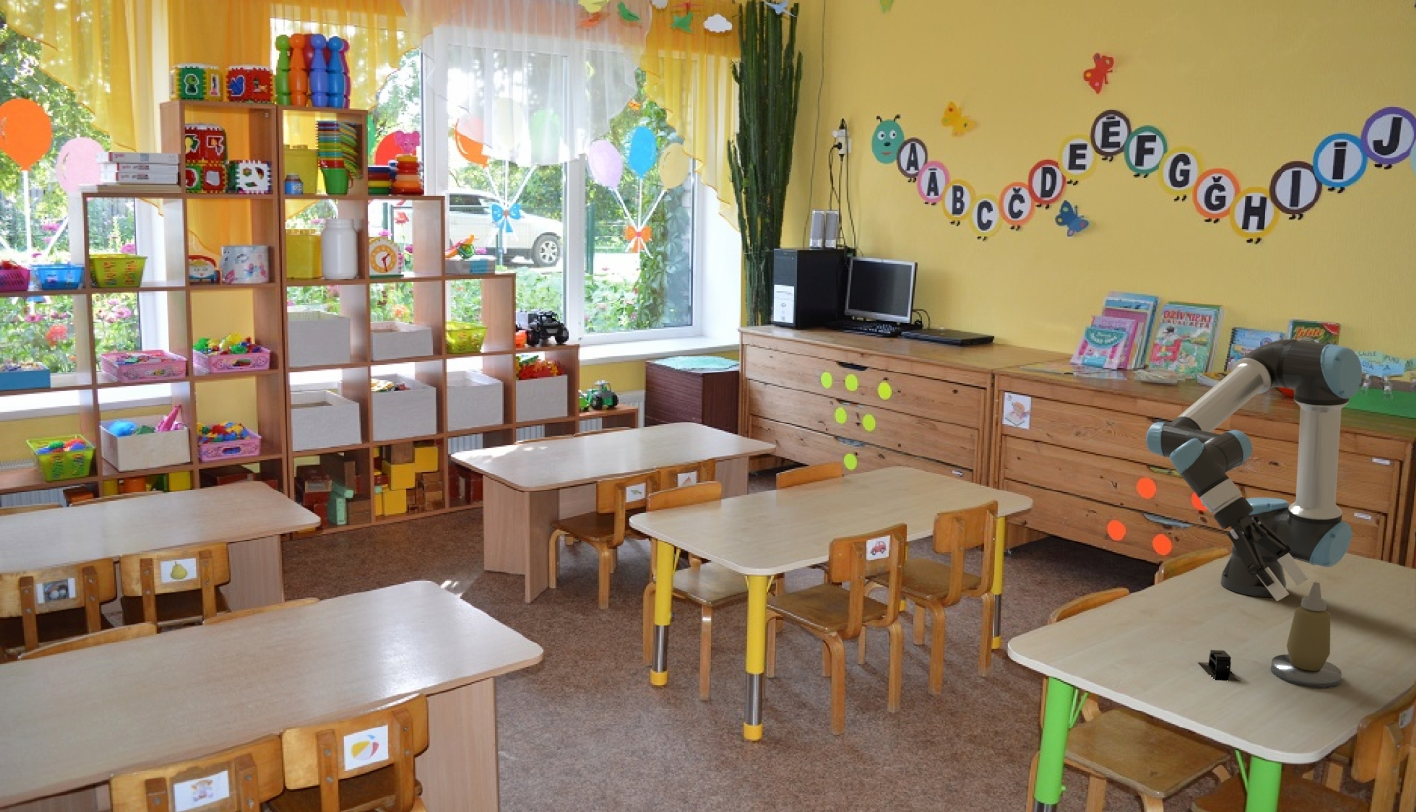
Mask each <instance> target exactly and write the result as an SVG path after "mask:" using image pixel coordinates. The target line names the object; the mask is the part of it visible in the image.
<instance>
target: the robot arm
mask: <svg viewBox="0 0 1416 812" xmlns="http://www.w3.org/2000/svg"><path fill="white" fill-rule="evenodd" d="M1362 369H1363V368H1362V364H1361V361H1360V357H1359V356H1358V354H1357V353H1356V352H1355V351H1354V350H1353V349H1352V348H1350V347H1348V346H1341V345H1338V344H1334V343H1324V342H1315V341H1306V340H1304V341H1303V340H1297V339H1291V338H1286V339H1280V340H1274V341H1270V342H1268V343H1265V344H1263V345H1260V346H1259V347H1257V348H1254V349H1253V350H1251V351H1249V352H1248V353H1246V354H1244V356H1242V357H1241V358H1239V359H1238V360H1236V362H1235V363H1234V364H1233V366H1232V371H1231V372H1230V373H1228V374H1227V375H1226V376H1225V377H1224V378H1222V380H1220V381H1219V382H1217V383H1216V384H1215V385H1214V386H1213V387H1211V388H1210V389H1209V390H1208V391H1207V392H1206V393H1205V394H1203V395H1202V396H1201V397H1200V398H1199V399H1198V400H1196V401H1195V402H1194V403H1193V404H1191V405H1190V406H1189V407H1188V408H1187V409H1186V410H1184V411H1183V412H1182V413H1181V414H1179V415H1178V416H1176V418H1175V419H1173V420H1172V421H1171V422H1170V423H1168V422H1166V421H1164V422H1162V421H1161V422H1160V421H1157V422H1153V423H1152V424H1151V426H1150V427H1149V428H1148V430H1147V432H1146V436H1145V443H1146V448H1147V450H1148V451H1149V452H1150V453H1151V454H1155V455H1158V456H1162V457H1163V458H1169V461H1170V462H1171V464H1172V465H1173V467H1174V468H1175V470H1176V472H1177V474H1179V475H1180V476H1181V477H1182V478H1183V480H1184V481H1185V483H1187V485H1188V486H1189V488H1190V489H1191V490H1192V491H1193V492H1194V493H1195V495H1196V497H1197V498H1198V499H1199V500H1200V501H1201V506H1202V507H1205V508H1206V509H1207V510H1208V512H1209V513H1210V514H1212V513H1214V514H1213V519H1214V520H1215V521H1216V522H1217V524H1218V525H1219V526H1220V529H1223V530H1227V529H1228V528H1231V530H1229V531H1227V532H1226V535H1227V536H1228V537H1229V539H1230V541H1231V542H1232V545H1231V553H1230V556H1229V559H1228V560H1227V563H1226V565H1225V567H1224V569H1223V571H1222V573H1221V576H1220V584H1221V586H1222V587H1224V588H1225V589H1227V590H1230V591H1232V592H1233V593H1238V594H1242V595H1247V596H1251V597H1257V598H1258V597H1261V598H1274V599H1275V601H1276V602H1279V601H1281V600H1283V599H1284V598H1286V597H1287V596H1289V595H1290V593H1289V592H1288V590H1287V581H1286V580H1287V579H1286V576H1285V572H1286V574H1287V575H1288V576H1289V577H1290V579H1291V580H1292V581H1293V582H1294V584H1295V585H1296V586H1299V585H1301V584H1302V583H1304V582H1306V581H1308V580H1309V579H1310V578H1309V577H1308V575H1307V574H1306V572H1304V570H1303V569H1302V567H1301V566H1300V565H1299V564H1298V562H1297V561H1300V562H1303V563H1307V564H1309V565H1312V566H1320V567H1324V568H1330V567H1331V568H1332V567H1333V566H1335V565H1337V564H1338V563H1339V562H1341V561H1342V559H1343V558H1344V557H1345V554H1346V553H1347V552H1348V550H1349V547H1350V545H1351V541H1352V536H1353V528H1352V527H1351V524H1349V523H1348V522H1346V521H1343V510H1342V509H1341V507H1339V506H1338V505H1337V504H1336V503H1337V502H1336V501H1337V488H1338V487H1337V486H1338V471H1339V470H1338V468H1339V453H1340V451H1339V450H1340V439H1341V438H1340V436H1341V435H1340V434H1341V432H1340V431H1341V420H1342V418H1341V417H1342V409H1343V408H1345V406H1346V405H1348V404H1349V402H1350V398H1353V397H1354V396H1356V395H1357V393H1358V392H1359V390H1360V385H1361V384H1362V379H1363V370H1362ZM1272 388H1283V389H1288V390H1293V401H1294V402H1295V403H1296V404H1297V405H1298V406H1299V407H1300V409H1299V412H1300V413H1299V431H1298V451H1297V452H1298V453H1297V468H1296V469H1297V470H1296V490H1295V501H1294V502H1293V503H1291V504H1290V503H1289V501H1288V500H1286V499H1283V498H1278V497H1277V498H1276V497H1275V498H1274V497H1250V498H1249V497H1248V498H1246V497H1243V496H1241V494H1242V492H1241V490H1240V489H1239V487H1237V485H1236V484H1235V483H1234V481H1233V480H1231V478H1230V477H1229V476H1228V474H1227V472H1229V471H1232V470H1233V469H1235V468H1237V467H1240V466H1241V465H1243V463H1245V462H1246V461H1247V460H1249V459H1250V458H1251V456H1252V454H1253V443H1252V441H1251V439H1250V438H1249V436H1248V435H1247V434H1245V432H1243V431H1241V430H1237V429H1232V430H1229V431H1224V432H1223V433H1216V432H1213V431H1215V430H1216V429H1217V428H1219V426H1220V425H1221V424H1223V423H1224V422H1225V421H1227V419H1228V418H1230V417H1232V415H1234V413H1236V412H1237V411H1238V410H1239V409H1241V407H1243V406H1244V405H1245V404H1246V403H1248V402H1249V401H1250V400H1251V399H1252V398H1253V397H1254V396H1256V395H1261V394H1264V393H1266V392H1267V391H1269V389H1272ZM1289 504H1290V505H1289ZM1296 560H1297V561H1296ZM1284 571H1285V572H1284Z"/></svg>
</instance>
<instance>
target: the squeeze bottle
mask: <svg viewBox="0 0 1416 812" xmlns="http://www.w3.org/2000/svg"><path fill="white" fill-rule="evenodd" d="M1327 606H1328V602H1327V600H1325V599H1323V598H1322V589H1321V584H1320V582H1317V581H1314V582H1312V586H1311V588H1310V590H1309V593H1308V596H1302V598H1301V603H1300V606H1298V607H1296V608H1295V610H1294V613H1293V618H1292V621H1291V622H1292V623H1291V625H1290V631H1289V635H1288V638H1287V642H1286V643H1287V644H1286V648H1287V652H1288V653H1287V654H1289V658H1290V662H1291V664H1292V665H1293V666H1295V667H1297V668H1300V669H1304V670H1310V671H1317V670H1321V669H1322V667H1323V665H1324V664H1325V662H1327V660H1328V658H1329V656H1330V655H1331V614H1330V613H1329V611H1328V610H1327Z"/></svg>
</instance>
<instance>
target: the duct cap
mask: <svg viewBox="0 0 1416 812" xmlns="http://www.w3.org/2000/svg"><path fill="white" fill-rule="evenodd" d="M1270 671H1271V673H1272V674H1273V675H1274V676H1275V675H1276V676H1275V677H1277V678H1278V677H1279V678H1278V679H1280V680H1282V681H1284V682H1287V683H1290V684H1293V685H1297V686H1299V687H1300V686H1301V687H1306V688H1311V689H1333V688H1336V687H1338V686H1340V684H1341V680H1342V674H1343V673H1342V670H1341V669H1340V668H1339V667H1337V665H1334V664H1333V663H1330V662H1329V661H1326V662H1325V664H1324V665H1323V667H1322V669H1321V670H1317V671H1310V670H1304V669H1300V668H1297V667H1295V666H1293V665H1292V664H1291V662H1290V658H1289V654H1288V653H1287V654H1278V655H1276V656H1274V657H1273V658H1272V659H1271V666H1270Z"/></svg>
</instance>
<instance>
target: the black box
mask: <svg viewBox="0 0 1416 812" xmlns="http://www.w3.org/2000/svg"><path fill="white" fill-rule="evenodd" d="M1209 651H1210V653H1209V656H1208V662H1200V661H1199V662H1198V663H1197V664H1198V665H1199V666H1200V668H1201V669H1203V670H1204V672H1205V673H1206V674H1207V675H1208V676H1209V675H1211V677H1213V679H1215V680H1214V681H1223V682H1224V681H1226V682H1227V680H1228V682H1241V680H1240V679H1239V678H1238V677H1237V676H1236V675H1235V674H1234V673H1233V671H1231V666H1232V665H1231V664H1232V662H1231V660H1232V657H1231V656H1230V654H1228V653H1227V652H1226V650H1223V649H1222V650H1221V649H1220V650H1219V649H1218V650H1217V649H1211V650H1209ZM1211 677H1210V678H1211ZM1213 679H1212V680H1213Z"/></svg>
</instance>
